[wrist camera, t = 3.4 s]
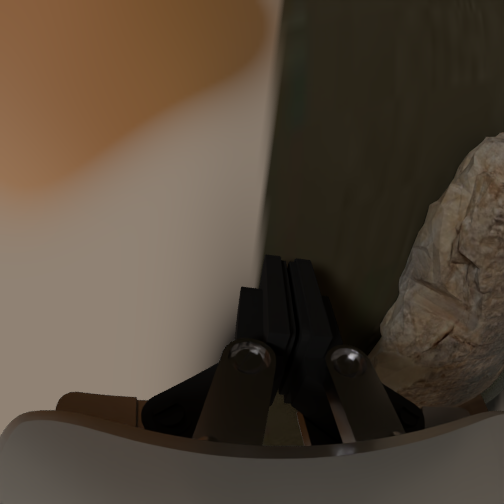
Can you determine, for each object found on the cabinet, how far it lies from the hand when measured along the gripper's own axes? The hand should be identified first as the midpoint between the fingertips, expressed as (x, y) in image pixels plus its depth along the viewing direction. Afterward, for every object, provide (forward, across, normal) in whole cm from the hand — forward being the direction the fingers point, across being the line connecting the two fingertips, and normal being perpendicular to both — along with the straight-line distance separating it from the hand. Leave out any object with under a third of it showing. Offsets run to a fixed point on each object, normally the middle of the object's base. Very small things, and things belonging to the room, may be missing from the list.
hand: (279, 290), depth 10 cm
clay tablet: (+2, -12, 0) cm, 12 cm away
